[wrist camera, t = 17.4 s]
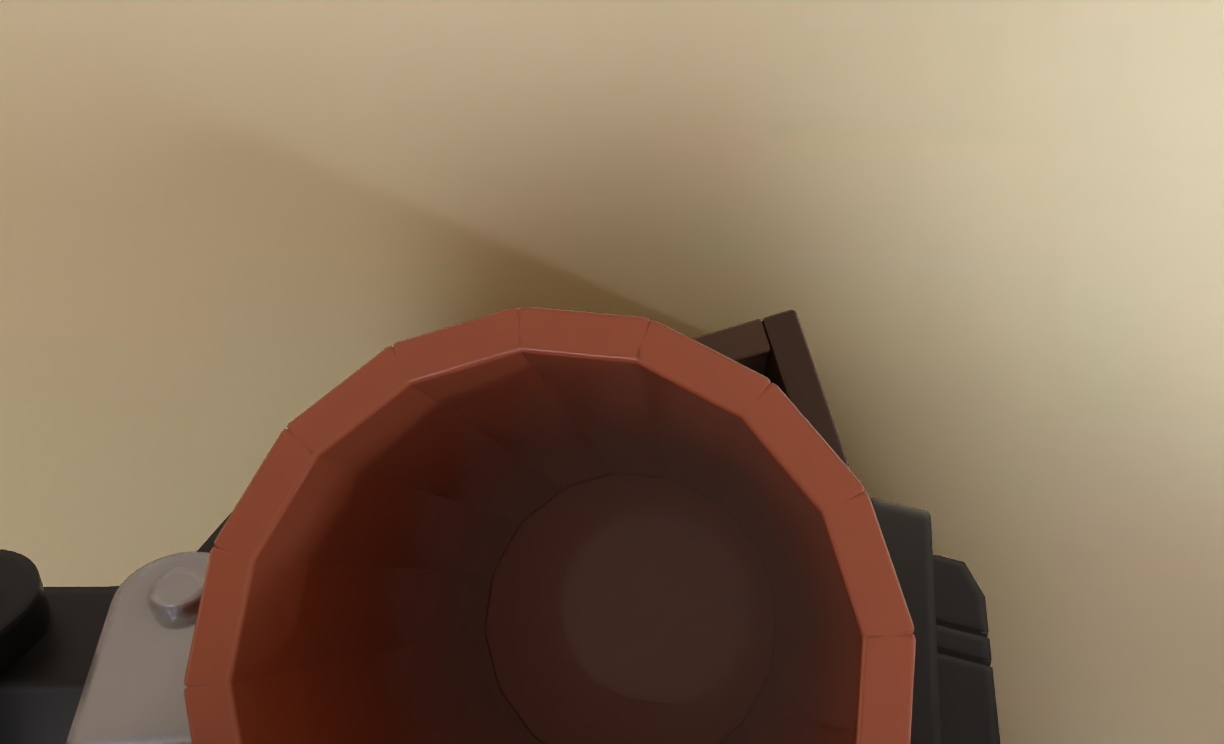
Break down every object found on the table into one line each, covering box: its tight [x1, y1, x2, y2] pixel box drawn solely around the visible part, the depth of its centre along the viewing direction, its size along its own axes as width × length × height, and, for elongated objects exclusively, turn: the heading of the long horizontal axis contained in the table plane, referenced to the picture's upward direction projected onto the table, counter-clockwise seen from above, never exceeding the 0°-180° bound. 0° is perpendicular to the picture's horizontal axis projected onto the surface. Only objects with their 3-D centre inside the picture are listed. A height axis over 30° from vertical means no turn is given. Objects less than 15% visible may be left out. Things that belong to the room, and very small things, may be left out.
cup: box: [184, 306, 916, 744], centre depth 12 cm, size 6×6×10 cm
